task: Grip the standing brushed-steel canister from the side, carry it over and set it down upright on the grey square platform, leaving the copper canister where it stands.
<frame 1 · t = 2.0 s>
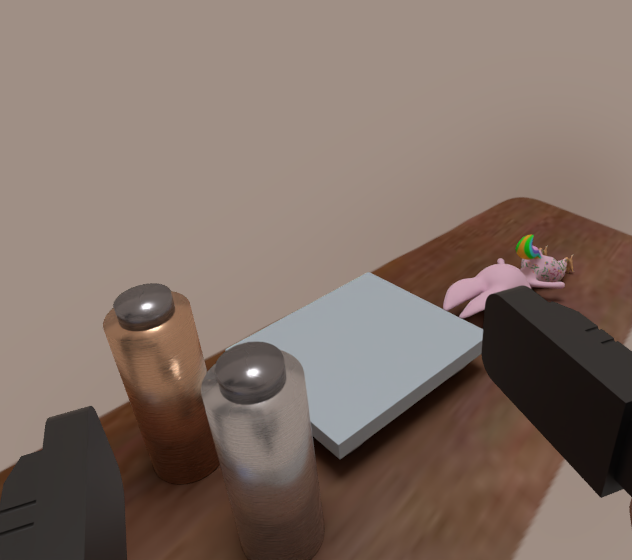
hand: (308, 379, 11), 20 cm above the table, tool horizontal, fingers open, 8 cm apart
grey square platform: (358, 376, 41), on the table
rabbit figure: (508, 304, 47), on the table
copper canister: (189, 454, 36), on the table
steel canister: (282, 531, 31), on the table
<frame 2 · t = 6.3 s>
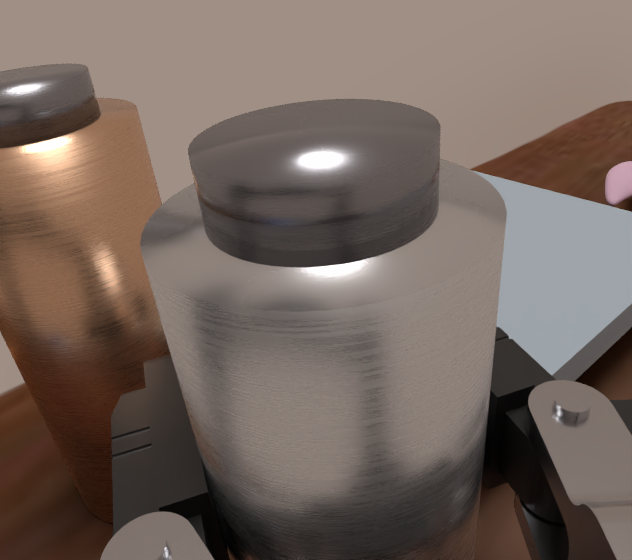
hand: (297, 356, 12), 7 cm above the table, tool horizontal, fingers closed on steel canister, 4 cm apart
grey square platform: (457, 320, 23), on the table
copper canister: (154, 462, 18), on the table
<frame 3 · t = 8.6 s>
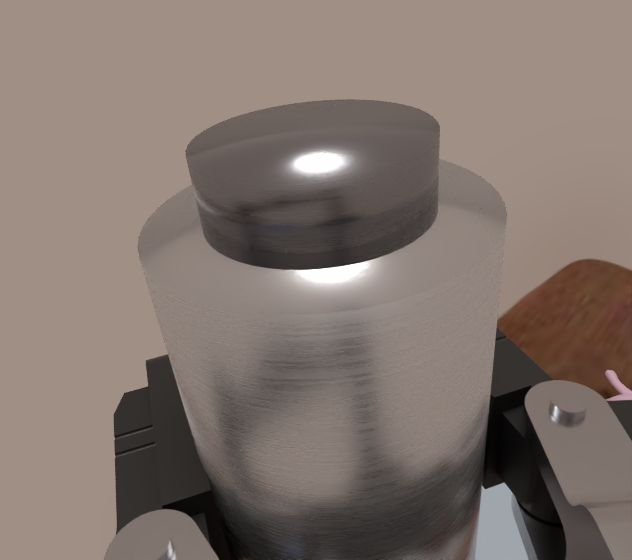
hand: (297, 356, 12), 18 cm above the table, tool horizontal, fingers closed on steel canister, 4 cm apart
when the fingers open (10 cm above the table, at t = 10.8 s): steel canister stays where it is, resting on grey square platform.
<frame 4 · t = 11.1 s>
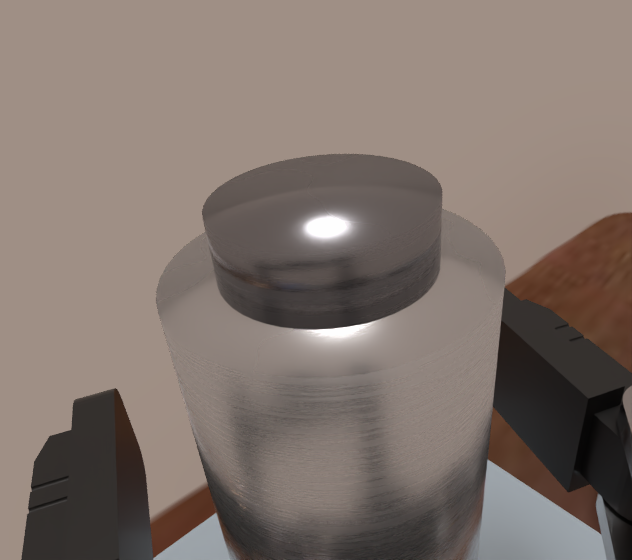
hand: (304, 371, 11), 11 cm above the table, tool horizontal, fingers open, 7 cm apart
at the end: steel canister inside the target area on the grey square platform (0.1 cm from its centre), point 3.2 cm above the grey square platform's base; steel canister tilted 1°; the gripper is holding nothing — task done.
